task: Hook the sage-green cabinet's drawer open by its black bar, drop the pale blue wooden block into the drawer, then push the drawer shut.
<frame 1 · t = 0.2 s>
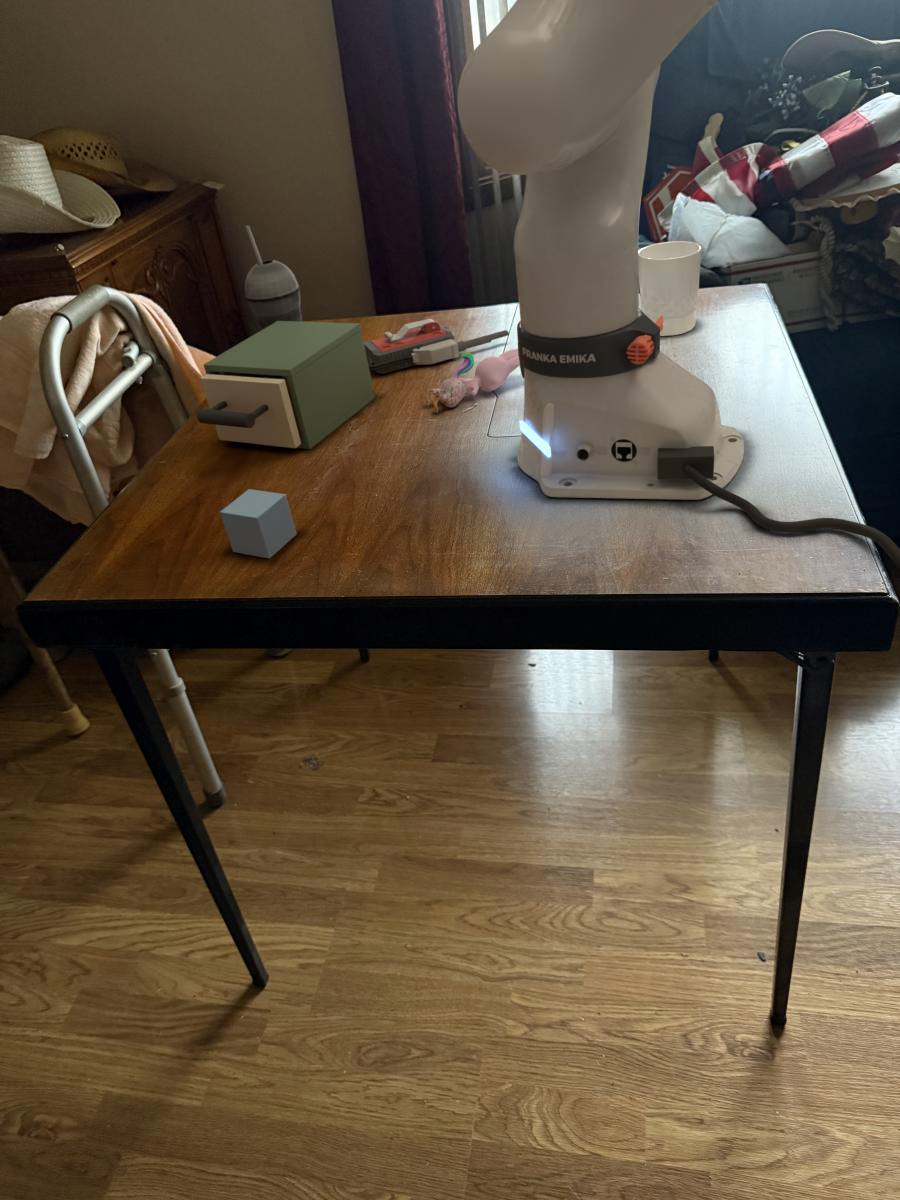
pink unicorn toy: (484, 394, 108), on the table
cabinet: (302, 418, 109), on the table
toy chainsaw: (434, 356, 121), on the table
drawer: (271, 396, 103), point 5 cm above the table, slide at 0.5 cm
white cup: (668, 328, 117), on the table
beverage cup: (294, 377, 122), on the table
block: (265, 543, 85), on the table
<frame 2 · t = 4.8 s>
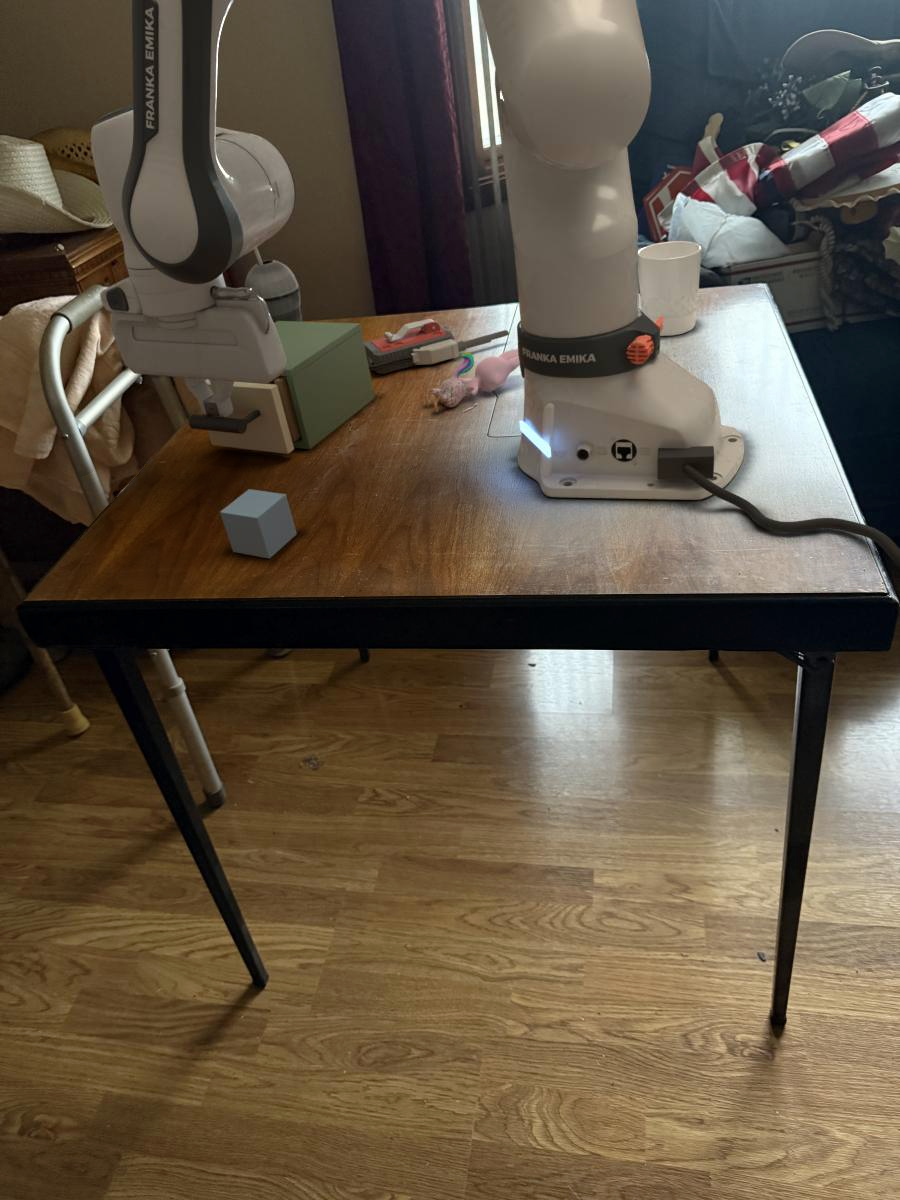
hand: (218, 413, 96), 7 cm above the table, tool pointing down, fingers closed, pressing on drawer
drawer: (264, 401, 102), point 5 cm above the table, slide at 1.9 cm, touching gripper
everything else where it was.
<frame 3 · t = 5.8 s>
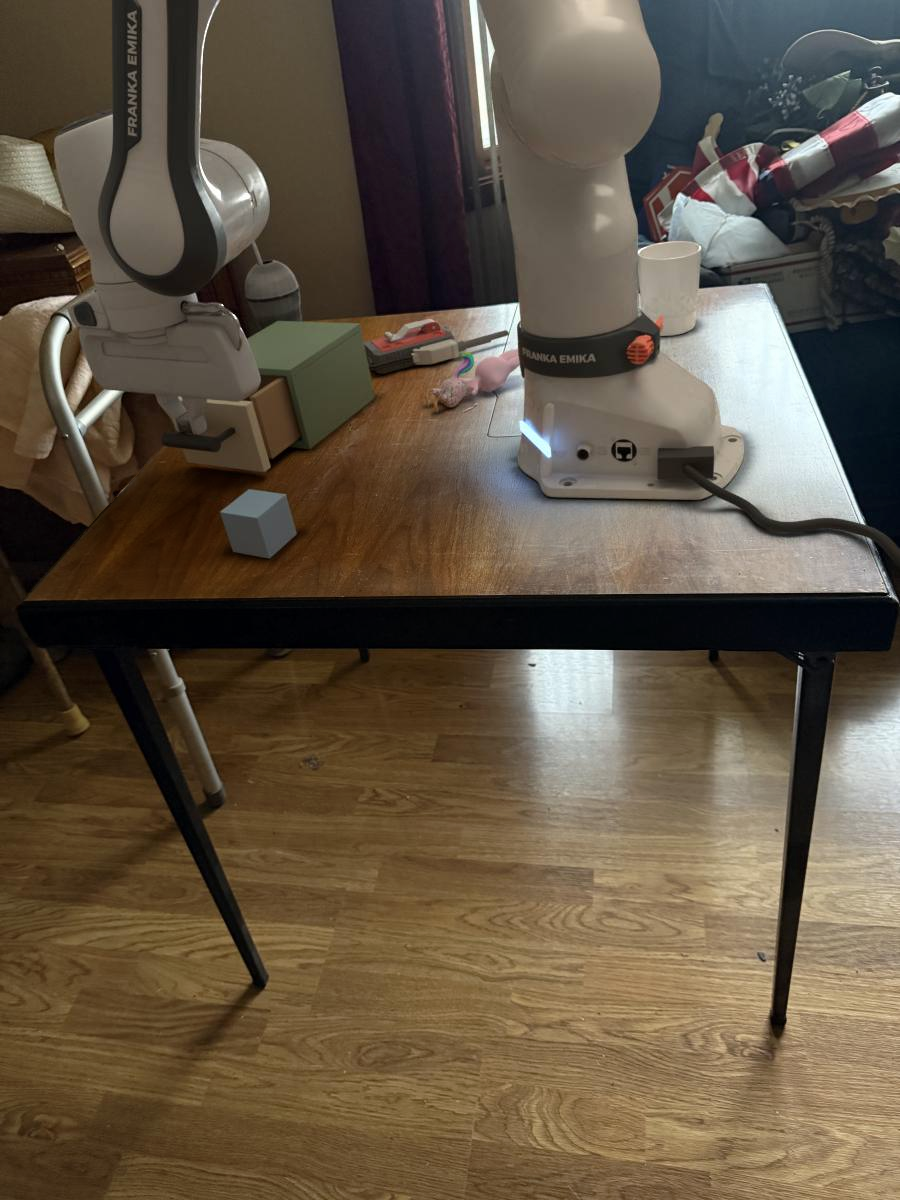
hand: (192, 431, 93), 7 cm above the table, tool pointing down, fingers closed, pressing on drawer
drawer: (240, 417, 99), point 5 cm above the table, slide at 6.4 cm, touching gripper
everything else where it was.
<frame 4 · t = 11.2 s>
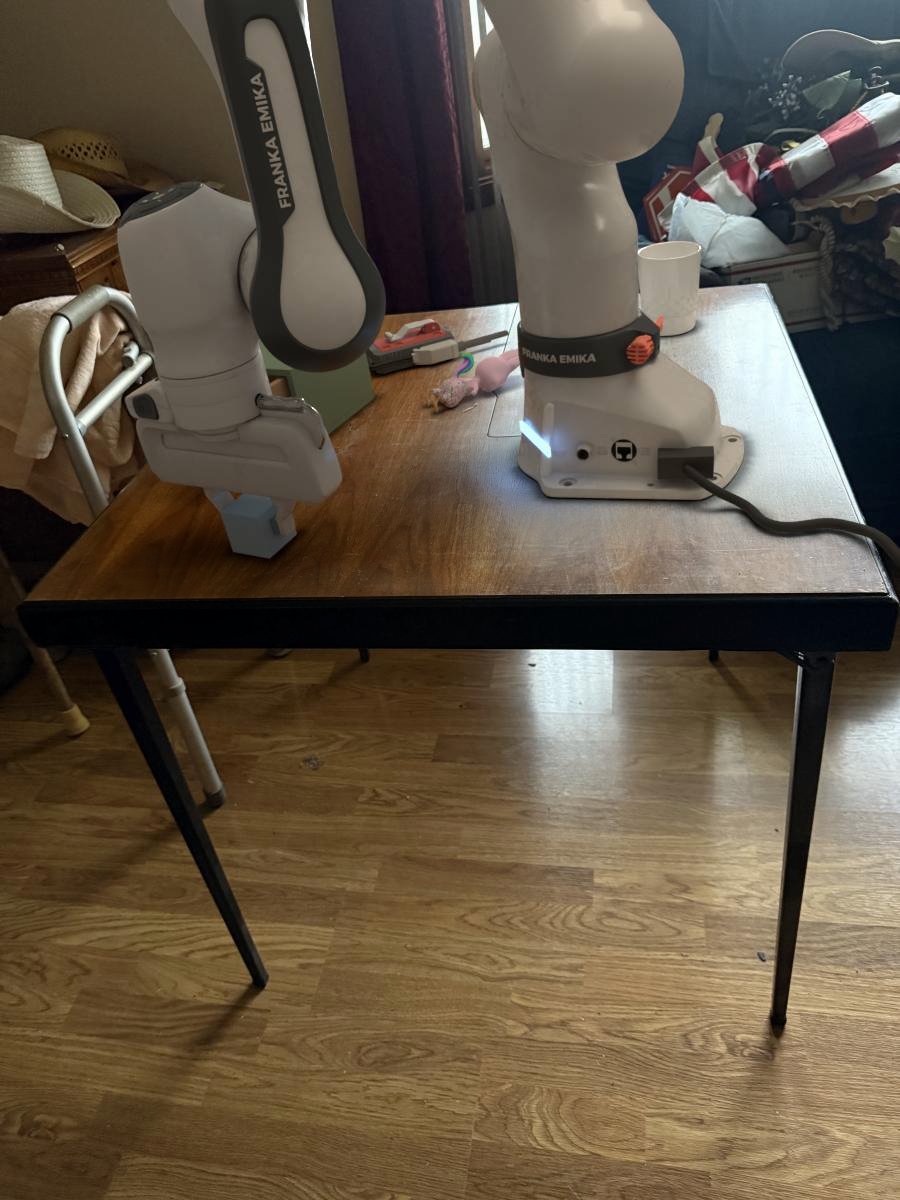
hand: (260, 528, 84), 2 cm above the table, tool pointing down, fingers closed on block, 4 cm apart
drawer: (241, 417, 99), point 5 cm above the table, slide at 6.3 cm
block: (265, 543, 85), on the table, touching gripper
everything else where it was.
when the fingers open (9 cm above the table, at t = 17.6 s): block drops 5 cm, resting on drawer.
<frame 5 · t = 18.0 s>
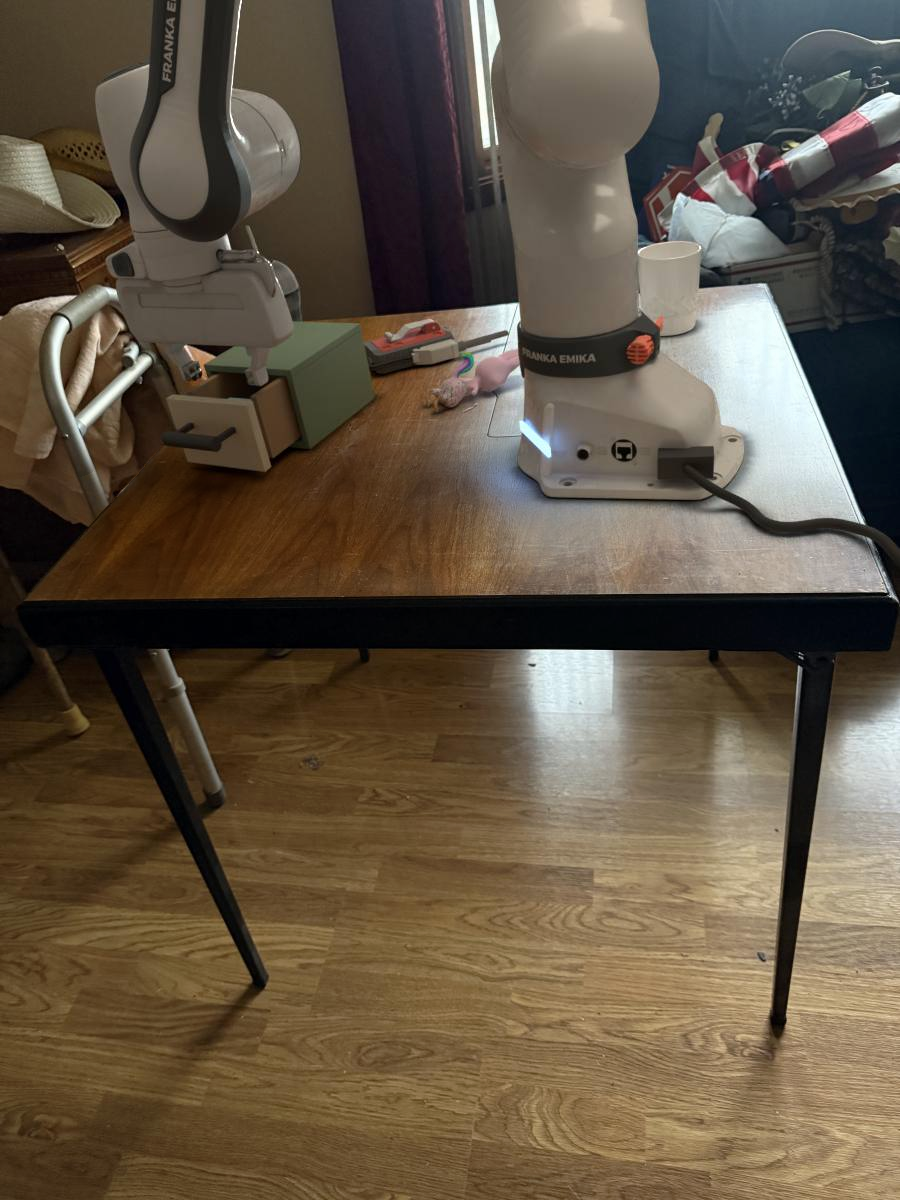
hand: (225, 381, 96), 9 cm above the table, tool pointing down, fingers open, 8 cm apart
drawer: (241, 417, 99), point 5 cm above the table, slide at 6.3 cm, touching block
block: (243, 443, 100), point 2 cm above the table, touching drawer
everything else where it was.
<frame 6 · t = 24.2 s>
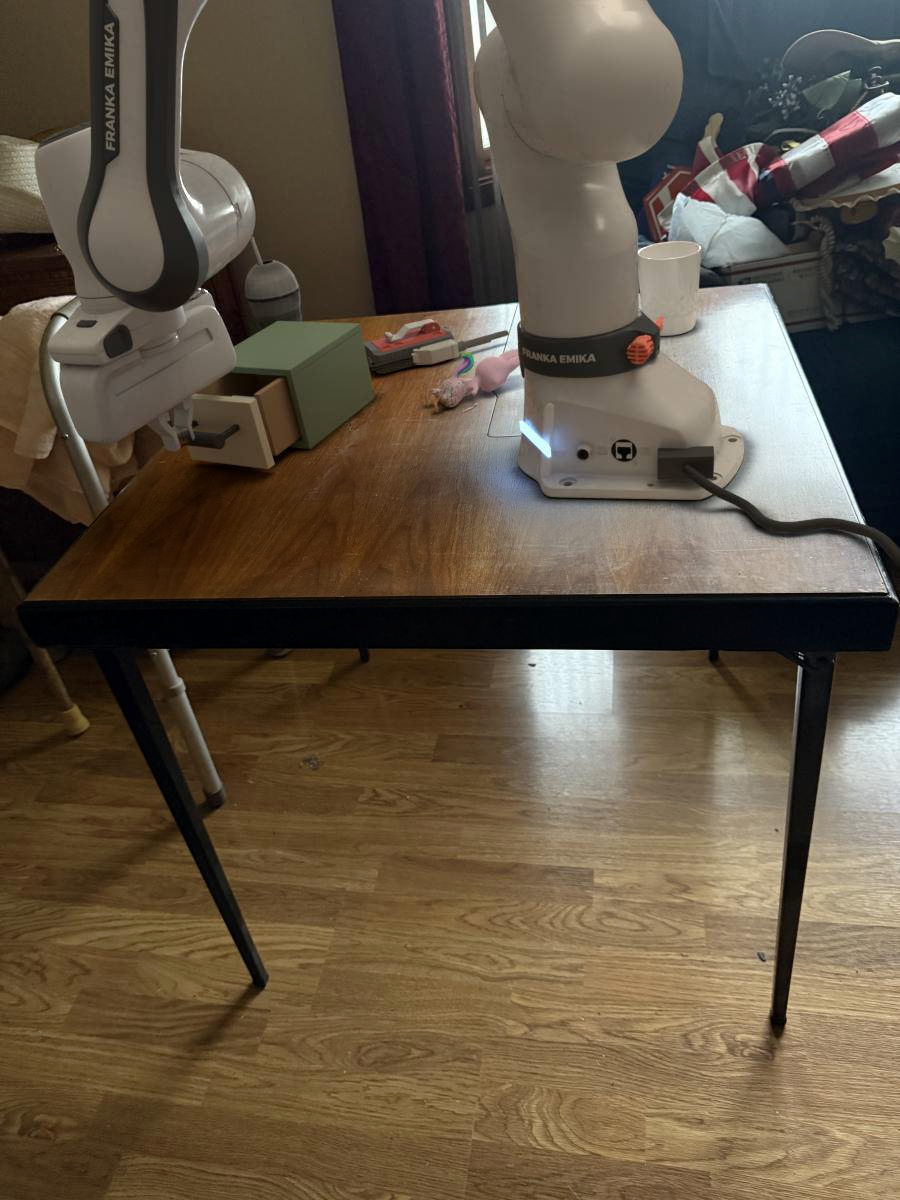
hand: (181, 445, 92), 6 cm above the table, tool pointing down, fingers closed
drawer: (244, 415, 100), point 5 cm above the table, slide at 5.6 cm, touching block, gripper
everything else where it was.
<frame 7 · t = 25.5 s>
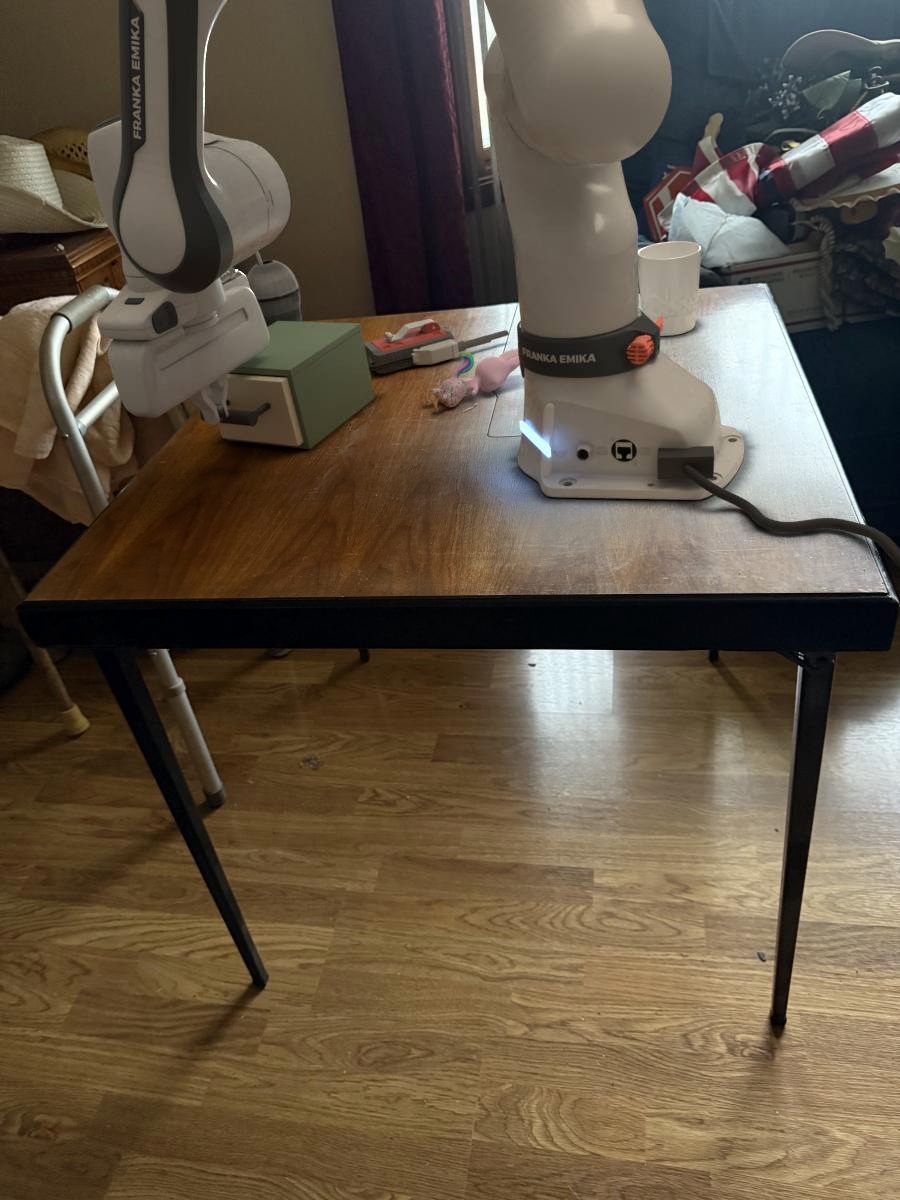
hand: (218, 420, 96), 6 cm above the table, tool pointing down, fingers closed
drawer: (274, 395, 103), point 5 cm above the table, slide at 0.0 cm, touching block, cabinet, gripper
block: (276, 420, 104), point 2 cm above the table, touching drawer
everything else where it was.
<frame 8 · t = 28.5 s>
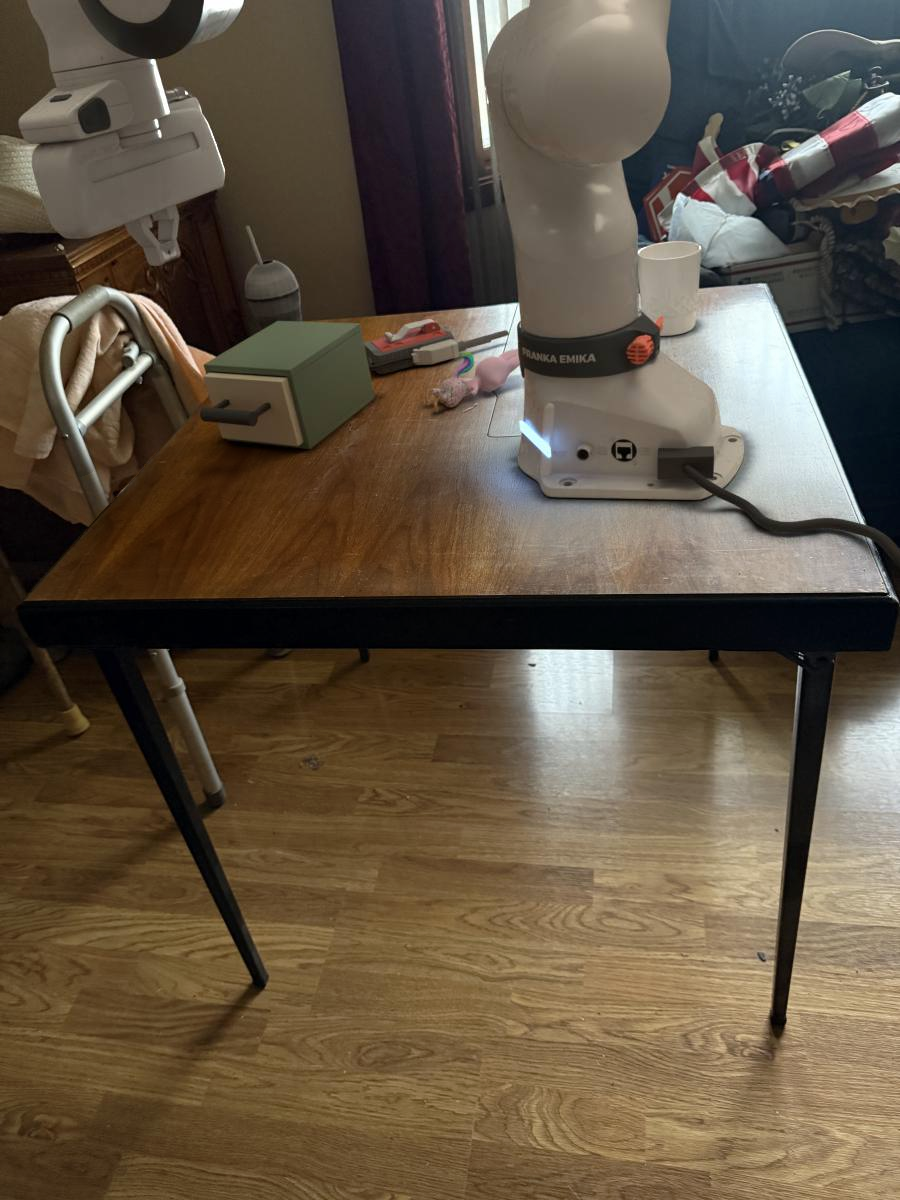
hand: (165, 261, 86), 23 cm above the table, tool pointing down, fingers closed
drawer: (274, 395, 103), point 5 cm above the table, slide at 0.0 cm, touching block, cabinet
everything else where it was.
at the end: drawer pulled out 6.4 cm at the most during the clip, back to where it started at the end; block inside the target area in the cabinet (4.3 cm from its centre), point 2.0 cm above the cabinet's base; drawer slide at 0.0 cm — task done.
